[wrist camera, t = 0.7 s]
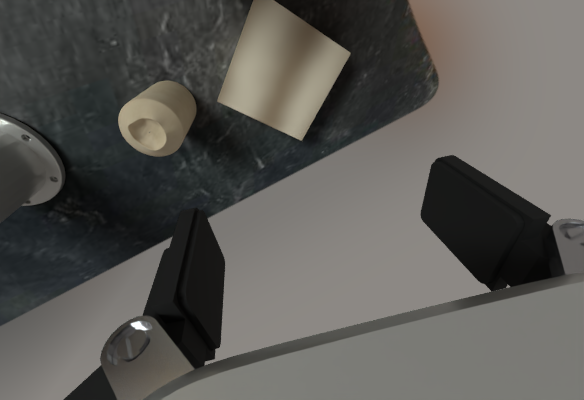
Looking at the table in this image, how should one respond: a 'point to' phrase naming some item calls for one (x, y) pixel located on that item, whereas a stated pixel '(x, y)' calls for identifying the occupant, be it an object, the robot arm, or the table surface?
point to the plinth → (281, 69)
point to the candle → (158, 118)
